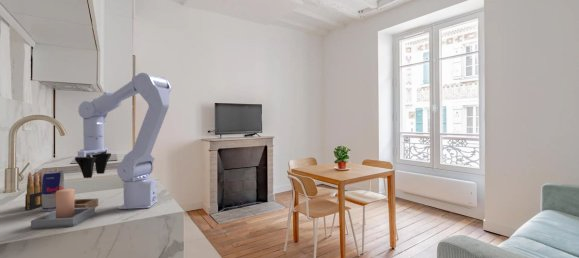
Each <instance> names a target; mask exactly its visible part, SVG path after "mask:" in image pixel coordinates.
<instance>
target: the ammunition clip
mask: <svg viewBox="0 0 579 258" xmlns="http://www.w3.org/2000/svg"><path fill="white" fill-rule="evenodd" d="M50 171H59V168H58V167H56V168H55V170H54V169H53V168H51V169H50ZM43 172H49V170H48V169H46V170H45V171H43V170H40V172H39V175H38V172H37V171H34V173H33V175H32V173H31V172H29V173H28V175H27V182H26V183H27V184H26V193H25V198H24V199H25V202H24V204H25V208H24V210H25V211H33V210H37V209H40V208H42V174H43Z"/></svg>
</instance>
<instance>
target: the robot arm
mask: <svg viewBox="0 0 579 258" xmlns="http://www.w3.org/2000/svg"><path fill="white" fill-rule="evenodd" d="M171 91H172V86H171V84H170V83H169V81H168V79H167V78H165V77H159V76H156V75H152V74H149V73H145V72H140V73H138V74H137V75H133V76H132V77H131V81H129V82H128V83H126V84H125V85H123V86H122V87H120V88H119V89H117V90H116V91H114V92H113V91H104V92H103V93H102V95H100V96H98V97H96V98H93V100H92V101H91V100H90V101H89V100H83V101H82V102H80V104H79V106H78V114H79V116H80V118H82V125H83V126H82V128H83V131H82V132H83V149H79V151H77V156H75V157H74V160H75V162H76V163H77V165H78V166H79V168H80V170H81V173H82V177H83V179H91V178H92V177H93V173H94V172H93V171H94V165H95V172H96V174H97V175H101V174H102V175H103V174H105V172H106V169H107V164H108V161H109V159H110V158H111V156H112V153H111V152H110V153H109V147H105V135H104V134H105V133H104V132H105V129H104V128H105V127H104V125H105V122H106V118H107V116H108V114H109V112H112V111H113V110H116V109H117V108H119V107H120V106H121V105H122V102H123V101H125V100H126V99H129V98H130V97H134V96H135V95H138V94H139V95H140V96H141V97H142V98H143V100H144V101H146V103H147V105H148V106H147V110H146V112H145V116H144V118H143V121H142V123H141V126H140V129H139V131H138V134H137V137H136V138H135V139H136V140H135V142H134V145H133V148H132V150H130V151H129V152H128V153H127V154H125V155H124V156H123V159H122V160H121V162H119V164H118V165H117V169H116V171H117V172H116V173H117V175H118V178H120V179H121V181H122V182H123V204H122V205H120V206H119V207H118V208H117V209H118V210H126V209H127V210H128V209H130V210H131V209H132V210H133V209H149V208H151V207H152V206H153V205H155V204H156V203H157V202H158V188H157V187H158V184H157V179H155V178H150V176H151V174H152V172H154V171H153V170H154V160H155V157H154V156H153V154H152V151H153V149H154V146H155V144H156V142H157V138H158V135H159V133H160V130H161V128H162V126H163V123H164V120H165V117H166V115H167V113H168V109H169V107H170V93H171Z"/></svg>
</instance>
